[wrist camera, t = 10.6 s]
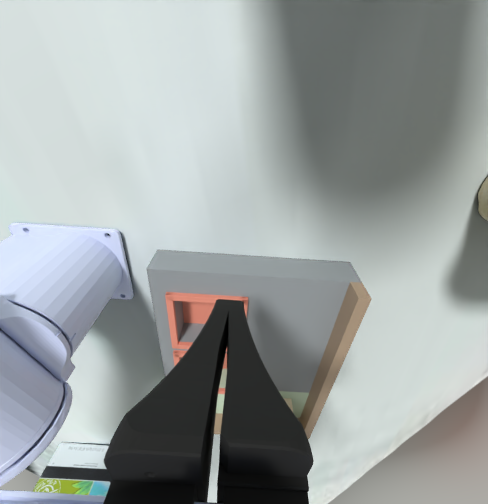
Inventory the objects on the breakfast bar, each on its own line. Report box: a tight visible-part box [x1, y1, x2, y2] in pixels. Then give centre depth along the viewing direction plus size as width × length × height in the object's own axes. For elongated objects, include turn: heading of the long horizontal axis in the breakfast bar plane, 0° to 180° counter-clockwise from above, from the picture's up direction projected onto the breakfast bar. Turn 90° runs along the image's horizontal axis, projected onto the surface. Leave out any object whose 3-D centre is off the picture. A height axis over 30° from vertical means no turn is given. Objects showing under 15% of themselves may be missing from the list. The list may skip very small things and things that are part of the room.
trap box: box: [147, 250, 371, 439], centre depth 28 cm, size 18×24×5 cm
